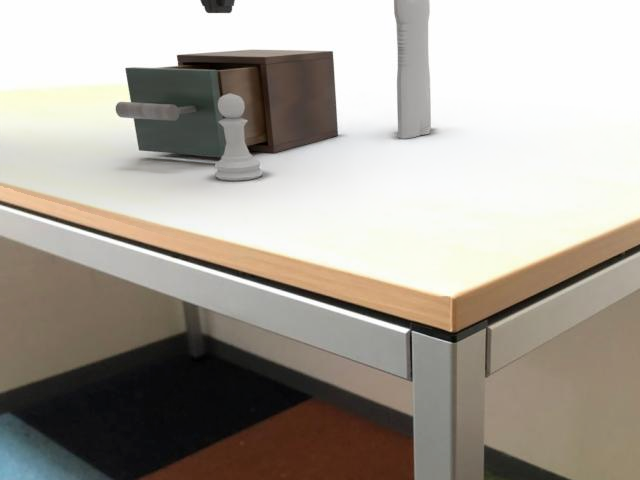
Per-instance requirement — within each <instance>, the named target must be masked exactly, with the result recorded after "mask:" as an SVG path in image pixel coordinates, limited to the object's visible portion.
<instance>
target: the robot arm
mask: <svg viewBox="0 0 640 480" xmlns="http://www.w3.org/2000/svg"><path fill="white" fill-rule="evenodd" d="M235 2H236V0H200V3H201V6H202V7H204V11H205V12H206V13H207V14H231V13H232V12H233V7H234V6H235Z"/></svg>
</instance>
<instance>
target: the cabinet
mask: <svg viewBox="0 0 640 480" xmlns="http://www.w3.org/2000/svg"><path fill="white" fill-rule="evenodd" d="M176 60H177V61H176V62H177V66H182V65H193V64H204V63H230V64H261V65H260V67H261V77H262V87H263V97H264V108H265V118H266V128H267V138H268V141H266V142H262V143H258V144H253V145H249V146H247V148H248V151H249V152H255V153H256V152H258V153H269V154H276V153H279V152H283V151H287V150H290V149H294V148H297V147H302V146H304V145H309V144H312V143H315V142H321V141H324V140H327V139H331V138H335V137H337V136H339V125H338V111H337V95H336V93H337V91H336V76H335V61H334V51H333V50H301V49H300V50H296V49H295V50H293V49H292V50H291V49H241V50H227V51H214V52H199V53H185V54H176Z"/></svg>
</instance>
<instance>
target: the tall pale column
mask: <svg viewBox="0 0 640 480" xmlns="http://www.w3.org/2000/svg"><path fill="white" fill-rule="evenodd" d="M430 7H431V6H430V0H393V10H394V11H393V14H394V19H395V23H396V44H397V48H396V49H397V71H396V73H397V74H396V103H397V105H396V106H397V107H396V108H397V137H398V139H402V140H403V139H404V140H405V139H407V140H408V139H413V138H415V137H419V136H424V135H429V134H430V133H431V130H432V115H431V114H432V113H431V111H432V110H431V107H432V106H431V73H430V61H429V60H430V59H429V57H430V56H429V21H430V14H431V11H430V10H431V9H430Z"/></svg>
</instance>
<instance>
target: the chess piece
mask: <svg viewBox="0 0 640 480" xmlns="http://www.w3.org/2000/svg"><path fill="white" fill-rule="evenodd" d="M218 109H219V111H220V113H221V114H222V115H223V116H224V117H225V118H224V119H223V120H220V121H218V122H219V123H220V124H221V125H222V126H223V127H224V133H225V139H226V147H225V151H224V155H223V156H222V157H220V159H219V160H218V161H217V162H216V163H215V164H214V165H215V167H216V171H215V173H214V176H215V177H216V178H217V179H218V180H222V181H232V182H233V181H235V182H236V181H237V182H238V181H248V180H254V179H258V178H260V177H262V175H263V173H264V171H263V170H262V169H261V168H260V164H261V161H259V160H258V159H256V158H255V157H254V155H253V154H252V153H250V151H248V148H247V146H246V144H245V139H244V125H245V124H246V122H247V121H248V120H245V119H242V118H240V116H241V115H242V114H243V112H244V109H245V105H244V101H243V100H242V98H241V97H239V96H238V95H234V94H231V93H229V94H227V95H224V96H222V97H220V98H219V101H218Z"/></svg>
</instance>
